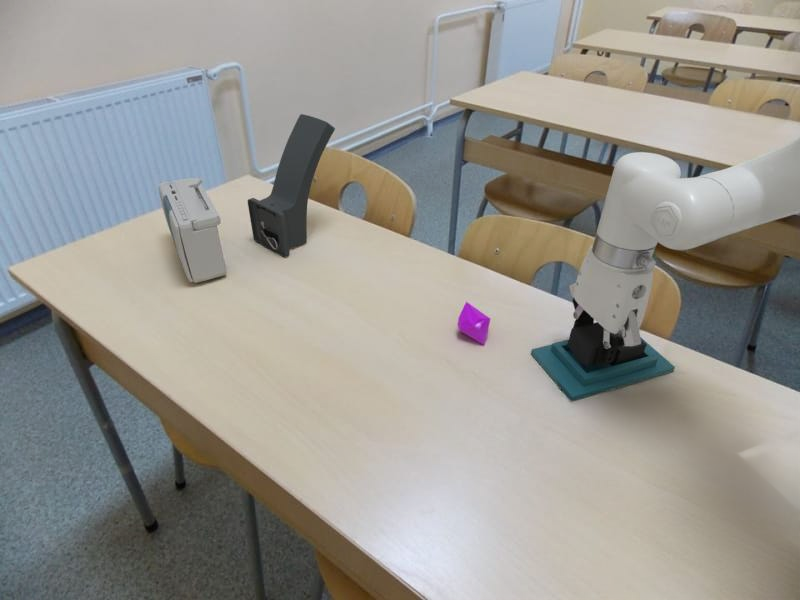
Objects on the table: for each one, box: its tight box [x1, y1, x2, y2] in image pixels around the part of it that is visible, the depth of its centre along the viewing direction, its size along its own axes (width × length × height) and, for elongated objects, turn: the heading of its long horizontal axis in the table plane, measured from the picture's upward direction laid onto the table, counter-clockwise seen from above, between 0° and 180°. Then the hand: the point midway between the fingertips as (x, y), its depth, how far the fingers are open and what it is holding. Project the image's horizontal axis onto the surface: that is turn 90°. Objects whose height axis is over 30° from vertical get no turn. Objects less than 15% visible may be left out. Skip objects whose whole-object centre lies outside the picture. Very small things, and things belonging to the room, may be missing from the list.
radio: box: [158, 177, 227, 284], centre depth 100 cm, size 21×8×20 cm, turn 28°
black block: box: [610, 332, 647, 366], centre depth 81 cm, size 5×5×4 cm
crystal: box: [457, 301, 491, 346], centre depth 86 cm, size 5×5×5 cm
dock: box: [530, 336, 676, 402], centre depth 81 cm, size 11×19×2 cm, turn 110°
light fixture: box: [247, 113, 336, 258], centre depth 107 cm, size 11×17×24 cm, turn 139°
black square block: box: [567, 321, 615, 366], centre depth 79 cm, size 5×5×4 cm
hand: (590, 350), depth 79 cm, fingers closed on black square block, 5 cm apart
